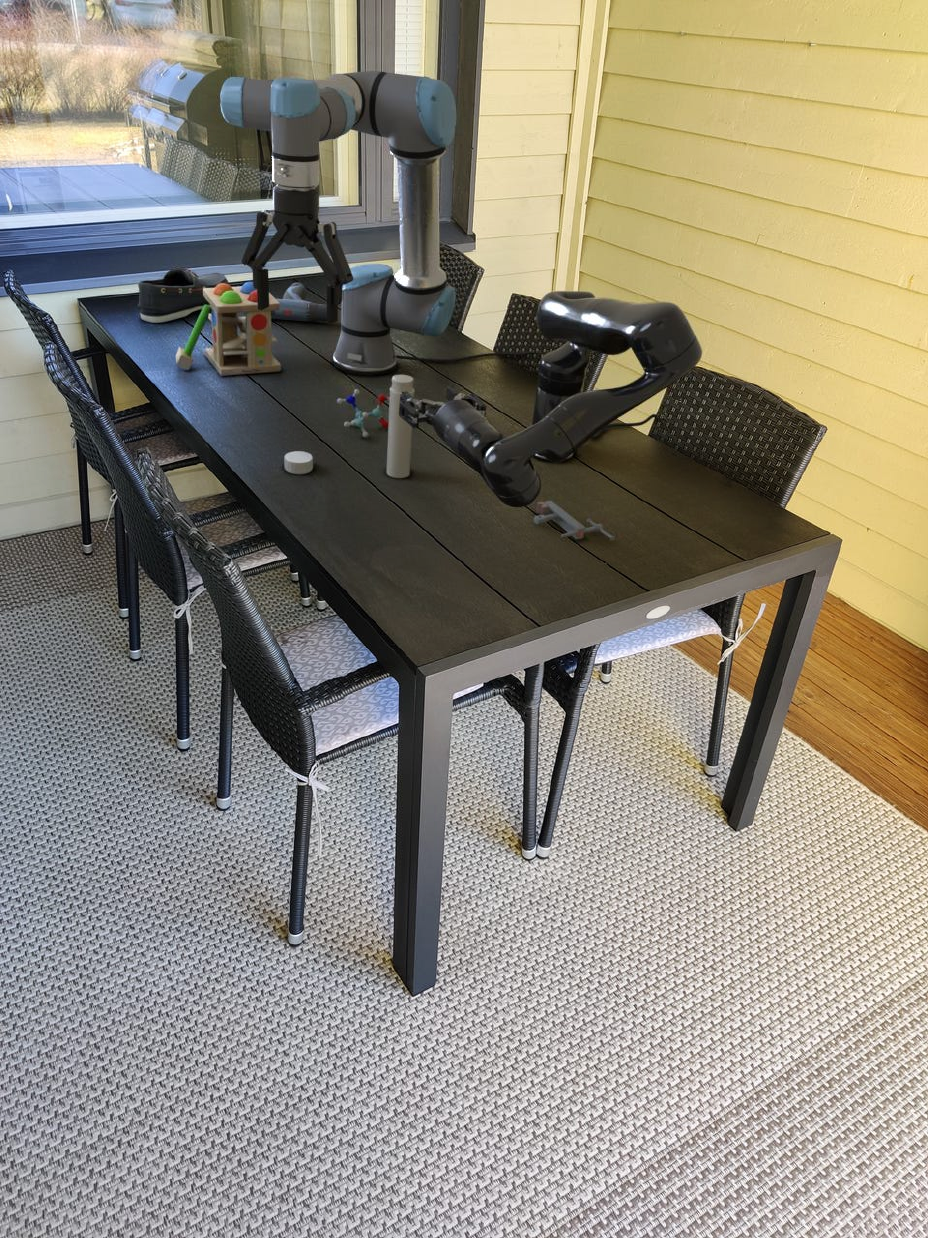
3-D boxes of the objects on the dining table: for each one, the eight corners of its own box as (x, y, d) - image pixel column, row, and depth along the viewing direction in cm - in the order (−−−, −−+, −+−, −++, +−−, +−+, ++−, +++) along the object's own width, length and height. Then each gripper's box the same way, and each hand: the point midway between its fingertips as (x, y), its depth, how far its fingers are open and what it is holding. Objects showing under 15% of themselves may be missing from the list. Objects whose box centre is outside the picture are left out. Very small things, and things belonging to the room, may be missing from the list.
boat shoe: (248, 301, 272) (246, 262, 267) (158, 325, 248) (153, 283, 243) (214, 293, 278) (211, 255, 272) (123, 315, 254) (117, 274, 248)
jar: (388, 466, 193) (392, 372, 182) (411, 469, 193) (416, 375, 182) (384, 476, 189) (388, 381, 178) (408, 479, 189) (413, 384, 178)
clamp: (523, 504, 179) (568, 495, 184) (522, 515, 180) (566, 506, 185) (570, 543, 169) (616, 532, 173) (569, 554, 170) (614, 543, 174)
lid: (291, 476, 186) (290, 464, 185) (280, 464, 190) (279, 453, 188) (317, 471, 189) (317, 460, 187) (306, 460, 192) (306, 449, 191)
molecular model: (383, 429, 198) (367, 381, 197) (344, 444, 202) (327, 397, 200) (405, 426, 209) (389, 380, 207) (367, 440, 212) (351, 395, 211)
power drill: (344, 304, 276) (335, 327, 259) (277, 298, 275) (264, 321, 258) (344, 285, 273) (335, 306, 256) (277, 279, 272) (264, 300, 255)
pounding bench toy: (183, 379, 220) (176, 299, 210) (169, 357, 231) (162, 280, 221) (282, 371, 230) (280, 294, 220) (264, 350, 240) (262, 276, 230)
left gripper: (217, 177, 161) (224, 307, 173) (354, 201, 155) (352, 334, 167) (241, 171, 167) (246, 296, 179) (374, 194, 161) (370, 322, 173)
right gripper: (424, 456, 159) (387, 418, 171) (501, 447, 165) (460, 410, 177) (427, 413, 155) (389, 376, 167) (506, 405, 161) (464, 370, 173)
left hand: (297, 315), depth 173 cm, fingers open, 13 cm apart
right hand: (426, 393), depth 172 cm, fingers open, 8 cm apart
